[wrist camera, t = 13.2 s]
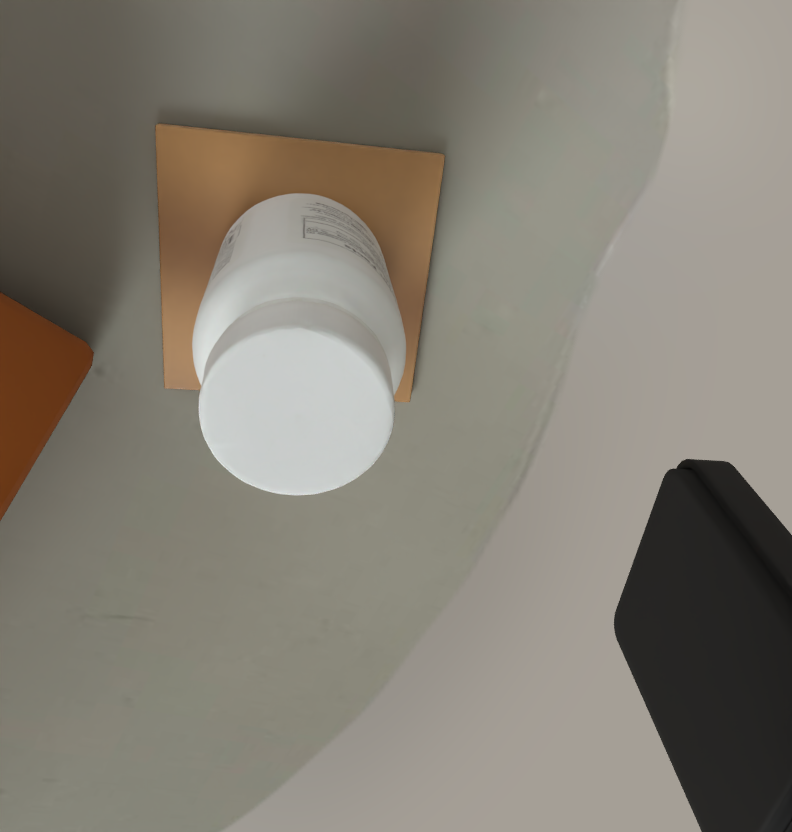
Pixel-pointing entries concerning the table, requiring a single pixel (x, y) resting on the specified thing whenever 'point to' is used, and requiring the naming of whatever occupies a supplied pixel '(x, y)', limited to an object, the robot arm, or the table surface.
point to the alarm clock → (33, 388)
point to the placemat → (273, 176)
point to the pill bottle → (298, 347)
